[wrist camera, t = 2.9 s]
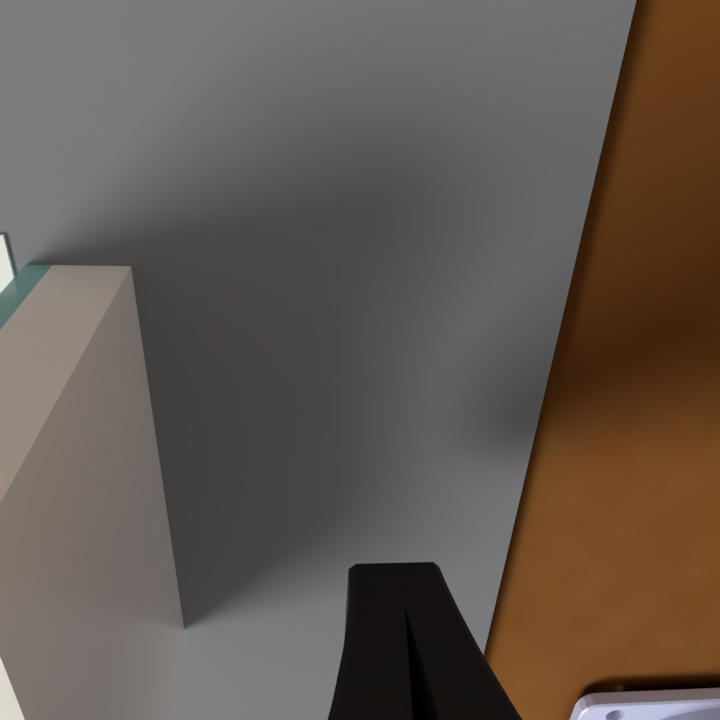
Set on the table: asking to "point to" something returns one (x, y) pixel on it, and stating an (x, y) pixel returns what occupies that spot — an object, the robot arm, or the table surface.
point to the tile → (81, 505)
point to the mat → (317, 282)
